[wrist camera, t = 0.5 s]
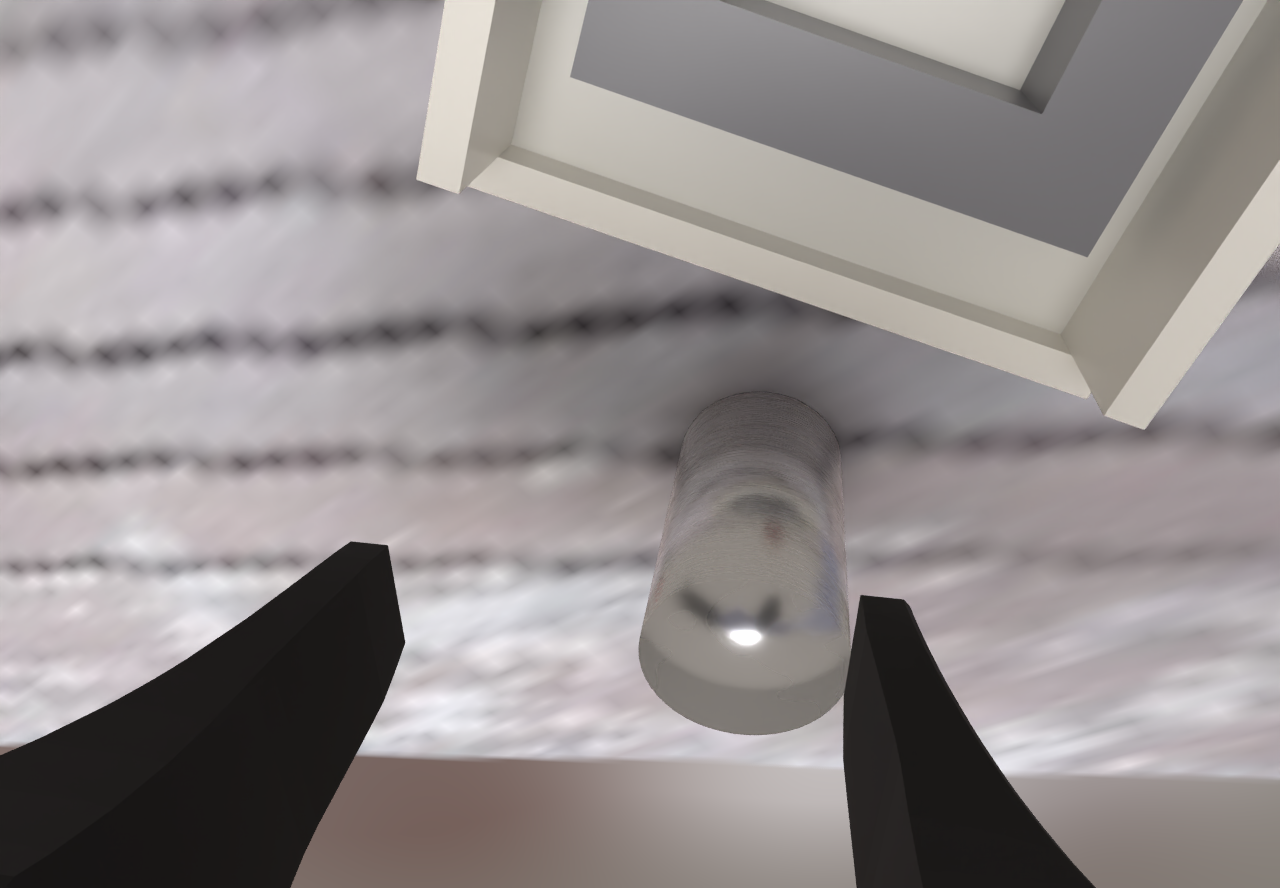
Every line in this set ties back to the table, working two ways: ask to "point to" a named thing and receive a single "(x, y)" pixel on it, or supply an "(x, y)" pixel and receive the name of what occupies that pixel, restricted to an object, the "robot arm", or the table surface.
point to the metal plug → (751, 571)
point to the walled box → (901, 160)
